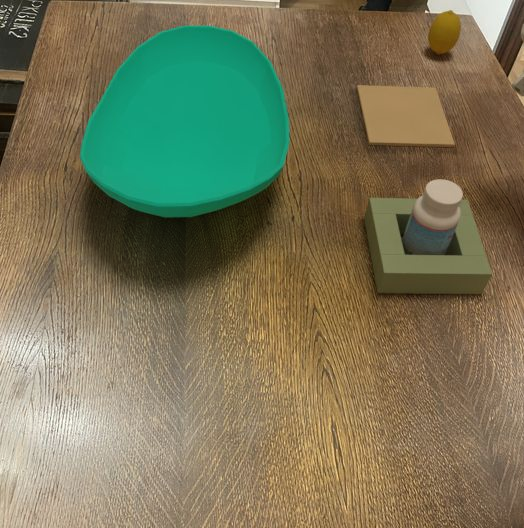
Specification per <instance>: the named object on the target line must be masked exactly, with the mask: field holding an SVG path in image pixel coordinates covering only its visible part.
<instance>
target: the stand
mask: <svg viewBox="0 0 524 528" xmlns="http://www.w3.org/2000/svg"><path fill="white" fill-rule="evenodd" d="M417 199H418V198H410V197H409V198H407V197H406V198H405V197H369V198H368V203H367V206H366V209H365V213H364V218H363V221H364V226H365V231H366V237H367V243H368V248H369V253H370V259H371V265H372V270H373V274H374V275H373V276H374V281H375V287H376V292H377V294H413V295H414V294H415V295H416V294H419V295H420V294H421V295H423V294H425V295H427V294H428V295H429V294H430V295H482V294H483V292H484V290H485V288H486V287H487V285H488V283H489V281H490V280H491V278H492V276H493V271H492V269H491V266H490V262H489V258H488V256H487V253H486V251H485V247H484V245H483V242H482V238H481V235H480V232H479V229H478V226H477V224H476V221H475V218H474V215H473V212H472V209H471V206H470V205H471V204H470V202H469V200H468V199H464V198H462V200H461V203H460V205H459V208H460V211H461V216H460V220H459V222H458V225H457V227H456V230H455V232H454V234H453V237H452V239H451V241H450V244H449V246H448V249H447V251H446V254H445V255H405V253H404V249H403V245H402V236H404V233H405V230H406V226H407V224H408V221H409V218H410V215H411V212H412V209H413V206H414V203H415V202H416V200H417Z"/></svg>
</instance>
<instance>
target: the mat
mask: <svg viewBox="0 0 524 528" xmlns="http://www.w3.org/2000/svg"><path fill="white" fill-rule="evenodd" d="M356 90H357V91H356V92H357V95H358V100H359V105H360V110H361V115H362V118H363V119H362V120H363V125H364V129H365V133H366V138H367V139H366V140H367V144H368V146H381V147H382V146H383V147H386V146H387V147H419V148H421V147H423V148H424V147H426V148H427V147H428V148H455V146H456V143H455V140H454V137H453V135H452V132H451V129H450V125H449V123H448V120H447V117H446V114H445V111H444V108H443V104H442V102H441V99H440V96H439V94H438V91H437V88H436V87H427V86H399V85H397V86H395V85H364V84H363V85H362V84H357V85H356Z"/></svg>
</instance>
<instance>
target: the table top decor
mask: <svg viewBox="0 0 524 528" xmlns="http://www.w3.org/2000/svg"><path fill="white" fill-rule="evenodd" d="M85 127H86V128H85V130H84V133H83V137H82V141H81V146H80V151H79V159H80V161H81V164H82V166H83V168H84V170H85V173H86V174H87V175H88V177H89V178H90V180H91V182H93V184H95V185H96V186H97V187H98V188H99V189H100V190H101V191H102V192H103V193H105V195H107V196H108V197H110V198H112V199H113V200H116V201H118V202H119V203H121V204H123V205H125V206H126V207H129V208H130V209H132V210H135V211H139V212H141V213H145V214H149V215H153V216H157V217H161V218H192V217H197V216H200V215H205V214H208V213H212V212H216V211H219V210H222V209H225V208H228V207H231V206H233V205H236V204H239V203H242V202H244V201H246V200H248V199H249V198H251V197H254V196H256V195H258V194H259V193H261V192H262V191H264V190H266V189H267V188H268V187H269V186H270V185H271V184H272V183H274V181H275V180H276V179H278V178H279V177H280V175H281V173H282V170H283V168H284V166H285V162H286V159H287V154H288V150H289V147H290V144H291V143H290V142H291V141H290V138H291V137H290V117H289V112H288V107H287V102H286V96H285V91H284V87H283V85H282V83H281V81H280V79H279V76H278V75H277V72H276V69H275V68H274V65H273V63H272V61H271V60H270V59H269V58H268V57H267V56H266V54H265V53H264V51H263V52H262V50H261V49H260V47H258V45H256V43H255V42H254V41H252V40H251V39H250V38H247V37H245V36H244V35H242V34H239V33H238V32H236V31H234V30H232V29H227V28H222V27H218V26H213V25H188V24H187V25H186V24H185V25H182V26H177V27H174V28H170V29H166V30H161V31H160V32H158V33H156V34H155V35H153V36H151V37H150V38H148V39H147V40H146V41H144V42H142V43H141V44H139V45H138V46H137V47H136V48H135V49H134V50H132V52H131V53H130V55H129V56H127V58H126V59H125V60H124V61H123V62H122V64H121V65H120V66H119V67H118V68H117V69H116V70H115V73H114V74H113V76H112V78H111V80H110V82H109V83H108V85H107V87H106V88H105V91H104V92H103V95H102V96H101V98H100V100H99V101H98V103H97V105H96V107H95V108H94V110H93V112H92V113H91V116H90V117H89V119H88V120H87V124H86V126H85Z"/></svg>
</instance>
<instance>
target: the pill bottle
mask: <svg viewBox="0 0 524 528" xmlns="http://www.w3.org/2000/svg"><path fill="white" fill-rule="evenodd" d="M463 196H464V194H463V190H462V188H461V187H460V186H459V185H458V184H457V183H455V182H453V181H451V180H448V179H442V178H440V179H438V178H437V179H433V180H431V181H429V182H428V183H427V184H426V185H425V188H424V191H423V193H422V195H421V196H419V197H417V198H416V199H417V200H416V202H415V203H414V206H413V209H412V212H411V215H410V218H409V221H408V224H407V226H406V230H405V233H404V235H402V238H401V240H402V245H403V249H404V253H405V255H446V254H447V252H446V251H447V249H448V246H449V244H450V241H451V239H452V237H453V234H454V232H455V230H456V227H457V225H458V222H459V220H460V216H461V211H460V208H459V205H460V203H461V200H462V199H463Z"/></svg>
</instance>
